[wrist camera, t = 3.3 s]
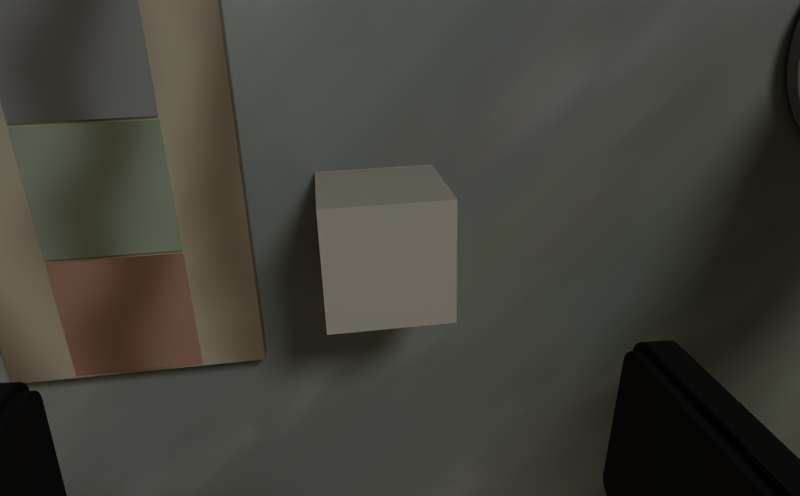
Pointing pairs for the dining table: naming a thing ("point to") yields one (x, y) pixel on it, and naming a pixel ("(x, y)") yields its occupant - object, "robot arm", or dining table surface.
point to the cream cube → (386, 248)
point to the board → (121, 191)
